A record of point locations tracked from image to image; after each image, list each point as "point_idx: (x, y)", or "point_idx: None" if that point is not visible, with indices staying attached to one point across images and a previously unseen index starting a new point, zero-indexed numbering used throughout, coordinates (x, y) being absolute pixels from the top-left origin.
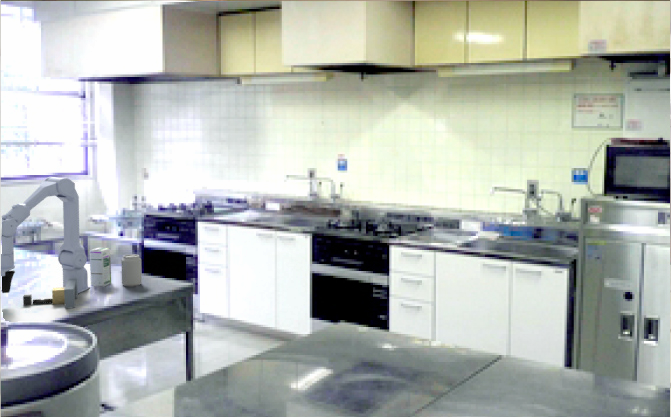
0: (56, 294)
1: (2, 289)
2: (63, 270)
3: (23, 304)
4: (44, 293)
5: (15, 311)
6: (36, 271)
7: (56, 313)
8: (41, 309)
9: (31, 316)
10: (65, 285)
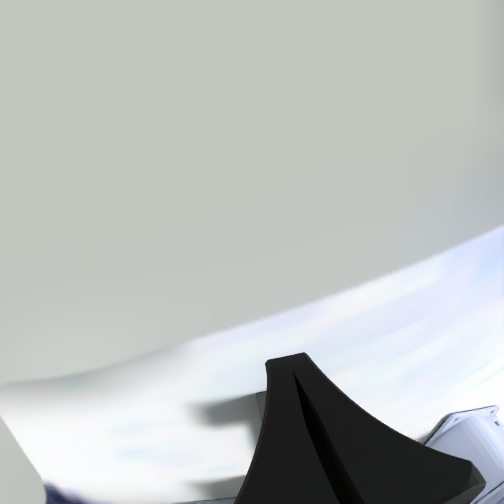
0: None
1: (267, 390)
2: (487, 489)
3: (257, 397)
4: (470, 371)
5: (121, 390)
6: None
7: (122, 492)
8: (173, 462)
9: (62, 446)
10: (450, 453)
